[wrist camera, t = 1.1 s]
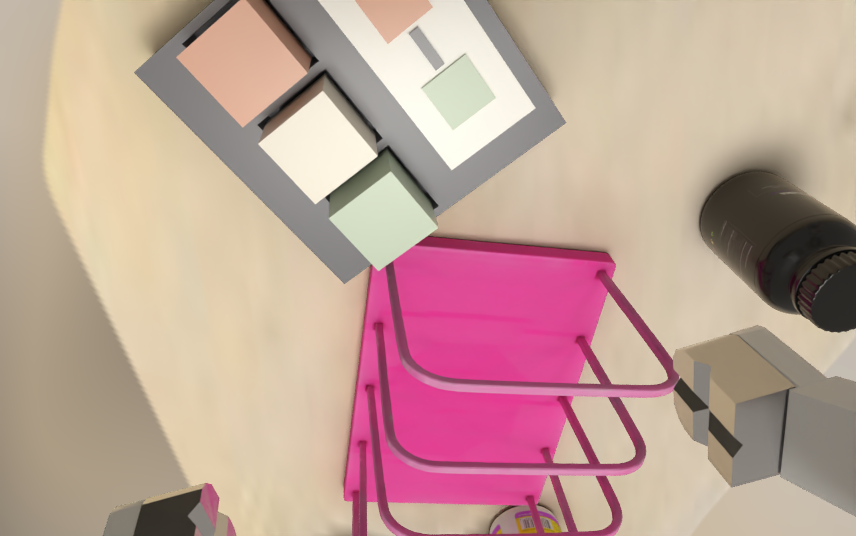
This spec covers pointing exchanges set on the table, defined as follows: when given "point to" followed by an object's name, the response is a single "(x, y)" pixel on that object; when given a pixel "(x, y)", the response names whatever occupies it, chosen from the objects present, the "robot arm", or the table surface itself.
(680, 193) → the table surface
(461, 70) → the keypad base
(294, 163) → the block
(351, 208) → the key sage
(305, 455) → the table surface
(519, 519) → the supplement bottle
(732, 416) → the robot arm
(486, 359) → the file sorter
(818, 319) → the supplement bottle
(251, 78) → the key terracotta
